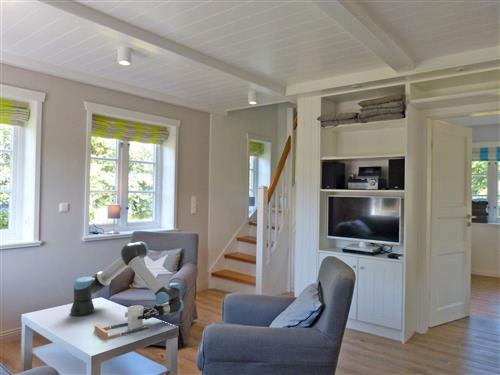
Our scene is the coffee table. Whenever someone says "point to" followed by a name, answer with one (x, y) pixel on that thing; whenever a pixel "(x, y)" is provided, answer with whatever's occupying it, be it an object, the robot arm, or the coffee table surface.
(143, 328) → the guide rails
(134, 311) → the candle holder
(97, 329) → the orange u-shaped bracket
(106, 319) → the coffee table surface
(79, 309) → the robot arm
